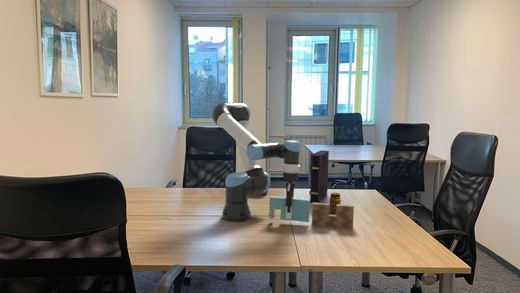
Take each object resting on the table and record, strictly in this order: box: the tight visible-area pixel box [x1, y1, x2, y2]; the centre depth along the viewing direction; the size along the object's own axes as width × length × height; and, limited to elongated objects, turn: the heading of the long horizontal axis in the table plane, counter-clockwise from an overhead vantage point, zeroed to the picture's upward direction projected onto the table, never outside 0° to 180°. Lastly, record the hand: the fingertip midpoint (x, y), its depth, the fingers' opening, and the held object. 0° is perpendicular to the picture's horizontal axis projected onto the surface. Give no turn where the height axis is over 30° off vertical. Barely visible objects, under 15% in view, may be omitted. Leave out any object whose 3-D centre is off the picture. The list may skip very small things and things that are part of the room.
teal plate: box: [268, 195, 311, 223], centre depth 192 cm, size 20×2×11 cm, turn 78°
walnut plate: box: [311, 202, 355, 229], centre depth 190 cm, size 20×2×11 cm, turn 78°
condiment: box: [328, 192, 342, 215], centre depth 209 cm, size 7×8×12 cm
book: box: [308, 149, 330, 203], centre depth 244 cm, size 24×6×30 cm, turn 157°
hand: (289, 217), depth 193 cm, fingers closed on teal plate, 2 cm apart
